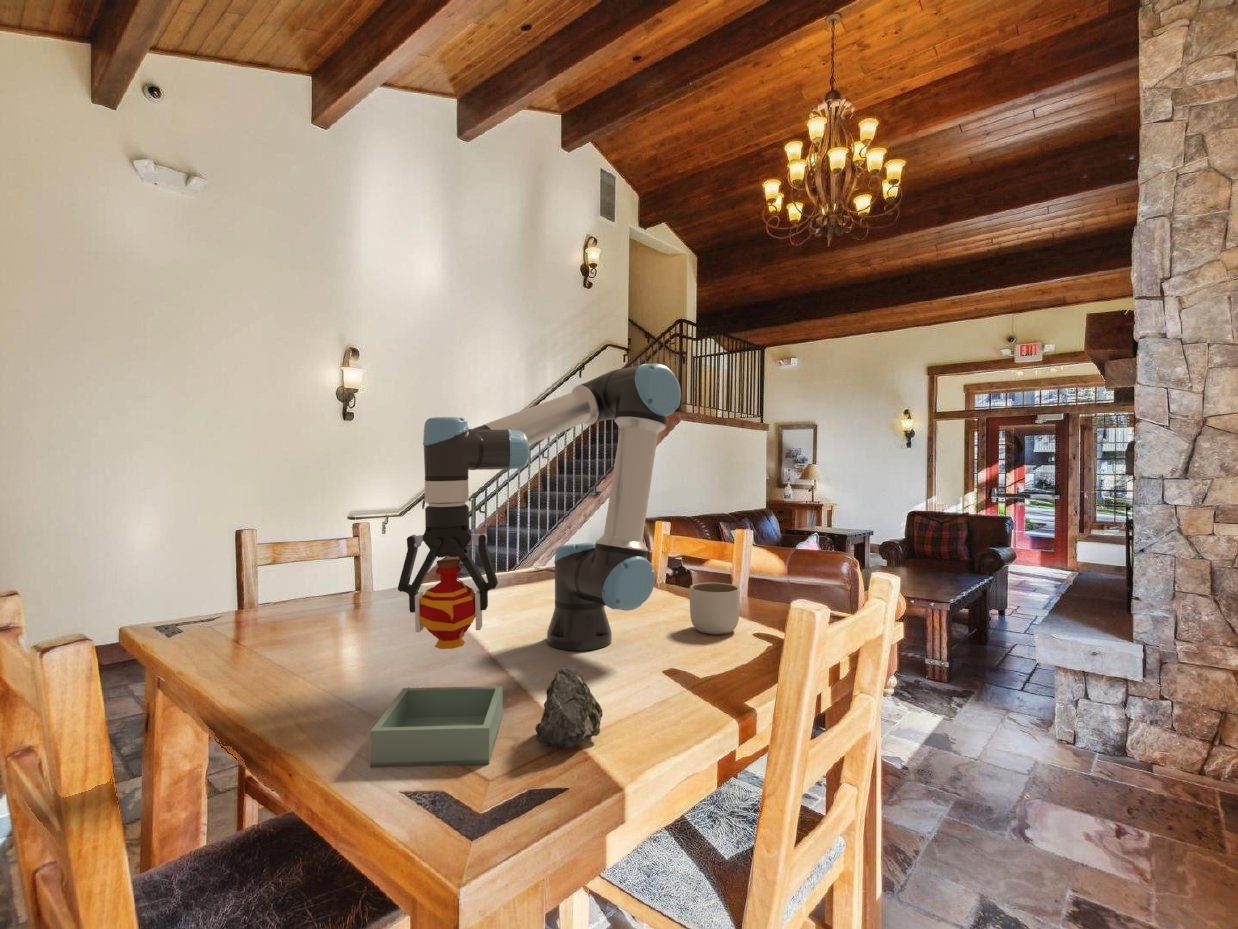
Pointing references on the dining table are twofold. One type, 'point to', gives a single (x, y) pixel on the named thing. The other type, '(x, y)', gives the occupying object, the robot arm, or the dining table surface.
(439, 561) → the potion bottle
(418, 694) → the bin
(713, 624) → the planter
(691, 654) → the dining table surface
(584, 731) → the rock
